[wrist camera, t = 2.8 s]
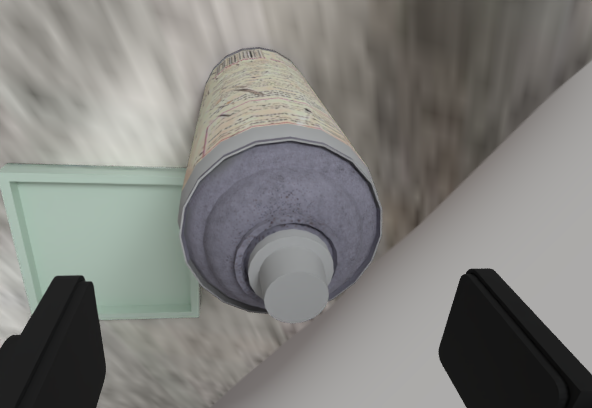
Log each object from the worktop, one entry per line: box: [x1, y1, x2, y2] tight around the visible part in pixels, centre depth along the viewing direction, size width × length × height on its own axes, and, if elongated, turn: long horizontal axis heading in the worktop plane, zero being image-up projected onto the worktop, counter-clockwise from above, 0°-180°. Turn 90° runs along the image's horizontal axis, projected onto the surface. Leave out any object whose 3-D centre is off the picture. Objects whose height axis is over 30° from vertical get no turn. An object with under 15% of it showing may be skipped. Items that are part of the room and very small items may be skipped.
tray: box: [0, 163, 200, 320], centre depth 32 cm, size 12×12×2 cm
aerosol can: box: [178, 47, 382, 323], centre depth 20 cm, size 7×7×20 cm
